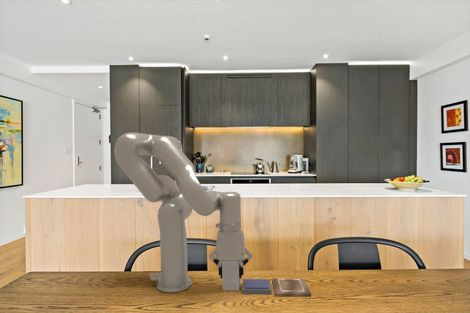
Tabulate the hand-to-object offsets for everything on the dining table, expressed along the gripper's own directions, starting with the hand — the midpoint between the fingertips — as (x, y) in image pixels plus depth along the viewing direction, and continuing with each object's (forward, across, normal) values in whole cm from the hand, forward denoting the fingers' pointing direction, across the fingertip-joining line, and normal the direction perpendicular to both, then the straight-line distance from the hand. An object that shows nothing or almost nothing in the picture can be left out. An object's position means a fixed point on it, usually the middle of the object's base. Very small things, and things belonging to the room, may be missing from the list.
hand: (231, 276), depth 111 cm
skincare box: (+4, 0, 0) cm, 4 cm away
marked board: (+4, +21, 0) cm, 21 cm away
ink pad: (+4, +9, 0) cm, 10 cm away
